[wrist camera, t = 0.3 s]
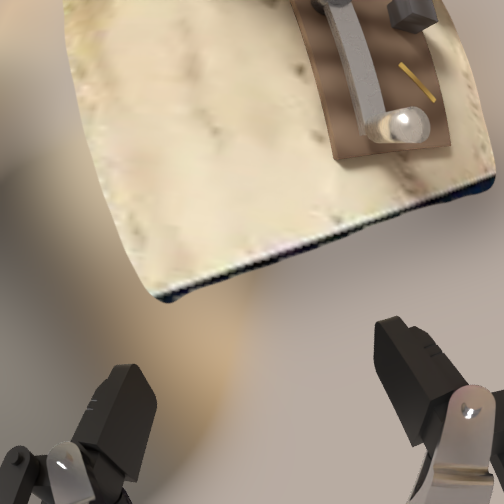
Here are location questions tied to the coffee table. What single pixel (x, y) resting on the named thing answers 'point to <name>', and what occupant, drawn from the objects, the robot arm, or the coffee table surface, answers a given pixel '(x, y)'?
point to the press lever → (368, 81)
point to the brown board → (377, 71)
